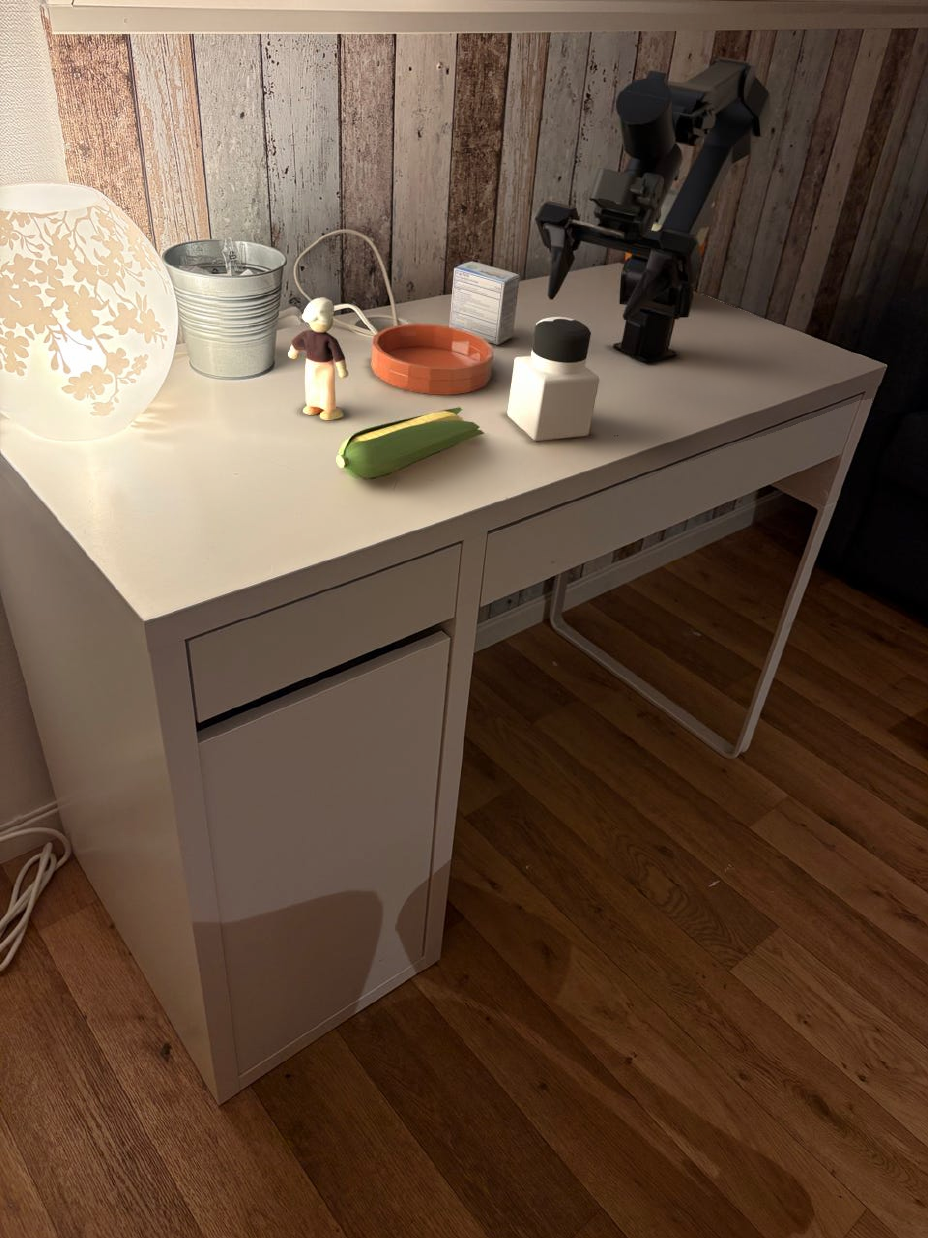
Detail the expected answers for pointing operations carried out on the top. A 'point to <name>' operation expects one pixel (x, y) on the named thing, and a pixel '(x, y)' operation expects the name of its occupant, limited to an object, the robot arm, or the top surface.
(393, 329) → the plant saucer
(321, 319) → the grandmother figurine
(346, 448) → the edible corn
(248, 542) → the top surface
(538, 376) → the medicine bottle
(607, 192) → the robot arm
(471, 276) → the medicine box
